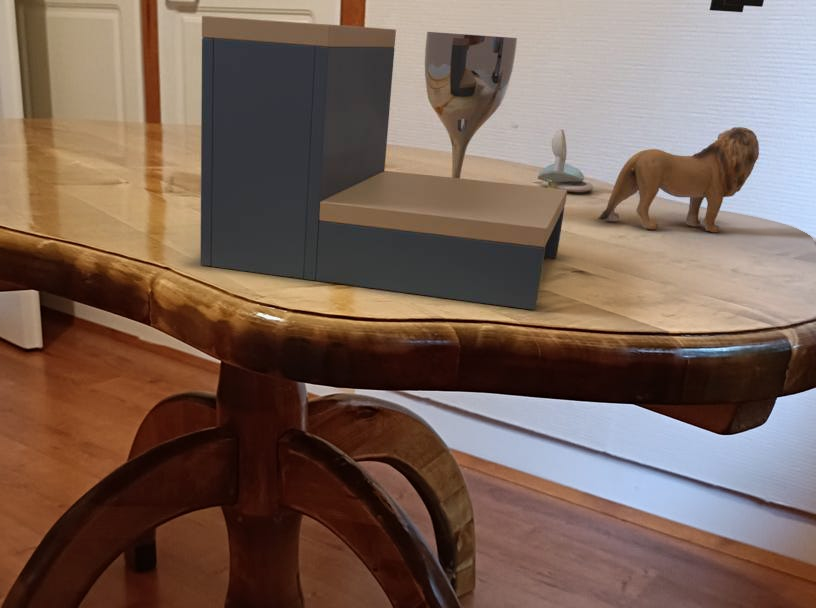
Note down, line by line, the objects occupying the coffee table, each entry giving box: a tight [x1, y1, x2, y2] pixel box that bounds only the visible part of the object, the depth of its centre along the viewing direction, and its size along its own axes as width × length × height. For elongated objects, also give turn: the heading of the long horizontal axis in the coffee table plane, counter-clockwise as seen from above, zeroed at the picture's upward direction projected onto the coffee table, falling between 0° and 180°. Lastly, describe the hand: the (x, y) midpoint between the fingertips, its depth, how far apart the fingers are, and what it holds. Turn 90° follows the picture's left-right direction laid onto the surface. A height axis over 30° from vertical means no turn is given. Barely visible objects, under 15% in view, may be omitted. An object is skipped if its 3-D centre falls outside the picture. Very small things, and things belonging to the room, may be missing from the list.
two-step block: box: [200, 15, 568, 311], centre depth 65 cm, size 22×17×15 cm
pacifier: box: [537, 129, 594, 193], centre depth 105 cm, size 7×6×6 cm
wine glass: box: [424, 31, 518, 179], centre depth 87 cm, size 8×8×15 cm
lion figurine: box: [597, 126, 760, 234], centre depth 87 cm, size 15×5×9 cm, turn 104°
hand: (733, 9), depth 78 cm, fingers open, 13 cm apart
